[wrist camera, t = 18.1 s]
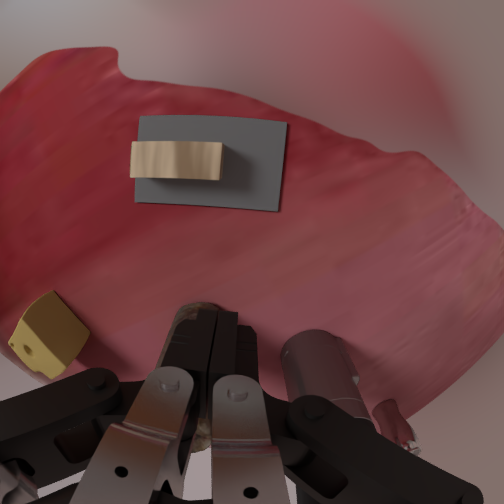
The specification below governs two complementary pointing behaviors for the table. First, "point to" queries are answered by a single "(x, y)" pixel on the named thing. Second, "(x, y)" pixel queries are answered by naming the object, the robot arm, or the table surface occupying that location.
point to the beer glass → (396, 426)
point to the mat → (234, 162)
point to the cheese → (48, 336)
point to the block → (177, 159)
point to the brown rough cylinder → (184, 312)
